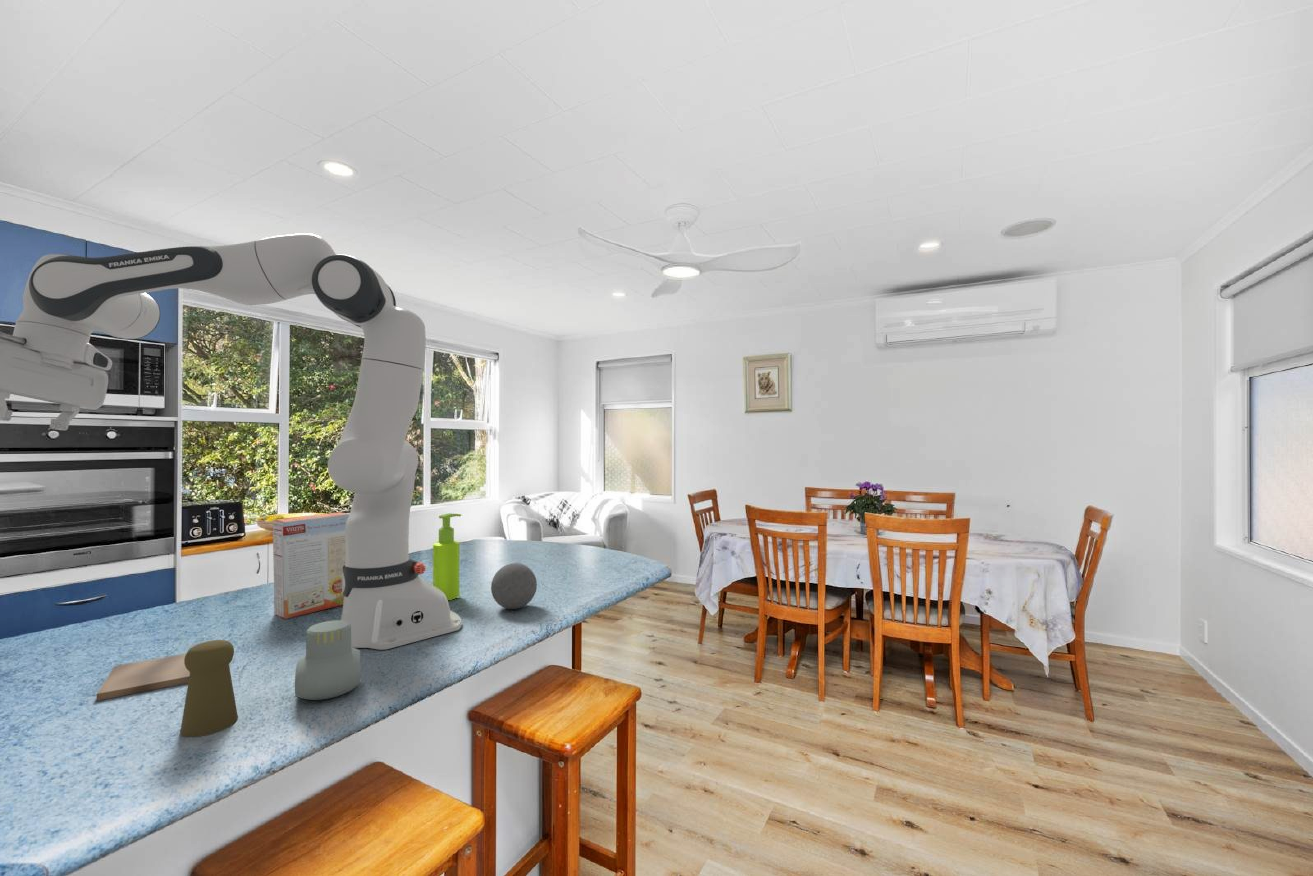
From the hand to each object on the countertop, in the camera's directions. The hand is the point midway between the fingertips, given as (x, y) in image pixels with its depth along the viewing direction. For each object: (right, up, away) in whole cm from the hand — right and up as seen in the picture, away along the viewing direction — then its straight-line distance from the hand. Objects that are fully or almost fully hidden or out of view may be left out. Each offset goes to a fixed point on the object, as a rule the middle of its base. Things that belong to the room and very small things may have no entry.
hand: (30, 425), depth 94 cm
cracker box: (+29, -41, +30) cm, 58 cm away
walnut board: (+26, -41, -4) cm, 48 cm away
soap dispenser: (+56, -41, +39) cm, 80 cm away
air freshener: (+56, -41, -10) cm, 70 cm away
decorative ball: (+74, -41, +31) cm, 90 cm away
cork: (+46, -41, -19) cm, 65 cm away
